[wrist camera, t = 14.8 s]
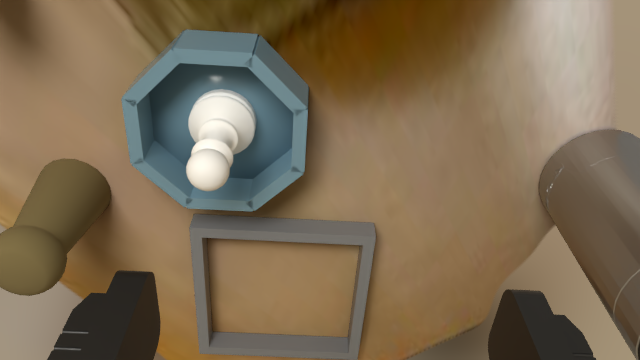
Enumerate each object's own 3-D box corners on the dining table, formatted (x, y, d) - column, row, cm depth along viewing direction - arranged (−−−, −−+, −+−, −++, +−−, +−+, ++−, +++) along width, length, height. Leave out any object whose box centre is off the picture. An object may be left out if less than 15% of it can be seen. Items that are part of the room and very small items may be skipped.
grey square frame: (374, 222, 49) (375, 236, 47) (356, 344, 58) (357, 359, 56) (193, 213, 48) (189, 227, 47) (203, 337, 57) (199, 353, 55)
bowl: (311, 37, 40) (310, 56, 37) (303, 186, 47) (301, 214, 44) (131, 26, 39) (113, 44, 36) (149, 178, 46) (136, 205, 43)
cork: (121, 179, 46) (72, 266, 37) (97, 227, 49) (46, 319, 40) (50, 146, 45) (-19, 229, 36) (29, 198, 48) (-40, 287, 38)
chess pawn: (216, 156, 44) (195, 223, 37) (178, 106, 42) (148, 167, 34) (269, 129, 43) (259, 193, 35) (233, 76, 41) (214, 133, 33)
